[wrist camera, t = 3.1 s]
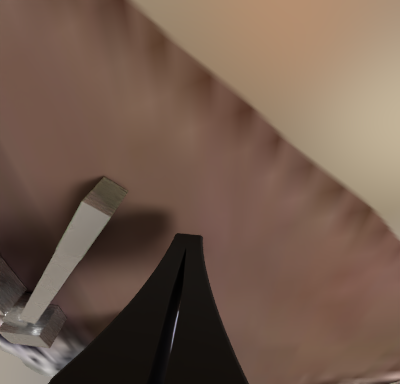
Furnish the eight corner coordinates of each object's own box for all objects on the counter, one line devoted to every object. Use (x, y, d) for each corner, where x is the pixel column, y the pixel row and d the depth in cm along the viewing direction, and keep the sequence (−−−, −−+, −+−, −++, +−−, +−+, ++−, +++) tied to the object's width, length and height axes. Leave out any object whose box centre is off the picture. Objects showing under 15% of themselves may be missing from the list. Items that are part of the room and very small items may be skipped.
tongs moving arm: (46, 308, 23) (29, 332, 21) (20, 298, 22) (1, 322, 20) (128, 191, 13) (111, 217, 11) (84, 164, 12) (57, 187, 10)
